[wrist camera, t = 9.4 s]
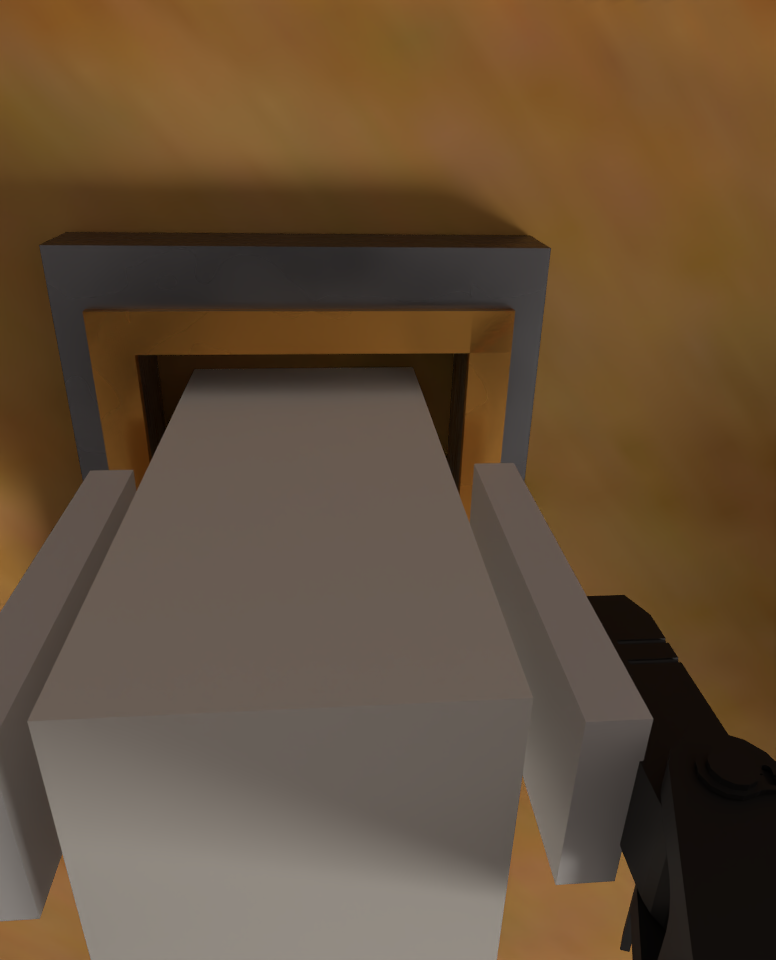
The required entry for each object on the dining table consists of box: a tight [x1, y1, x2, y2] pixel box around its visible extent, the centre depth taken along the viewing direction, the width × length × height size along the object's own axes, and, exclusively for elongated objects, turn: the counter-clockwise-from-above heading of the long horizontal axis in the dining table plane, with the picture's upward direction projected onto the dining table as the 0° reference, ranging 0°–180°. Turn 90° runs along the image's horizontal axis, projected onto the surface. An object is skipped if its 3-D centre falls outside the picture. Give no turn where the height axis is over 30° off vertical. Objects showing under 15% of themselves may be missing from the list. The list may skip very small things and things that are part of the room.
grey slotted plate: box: [39, 232, 551, 523], centre depth 19 cm, size 9×22×2 cm, turn 179°
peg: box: [27, 367, 533, 960], centre depth 12 cm, size 5×5×10 cm
